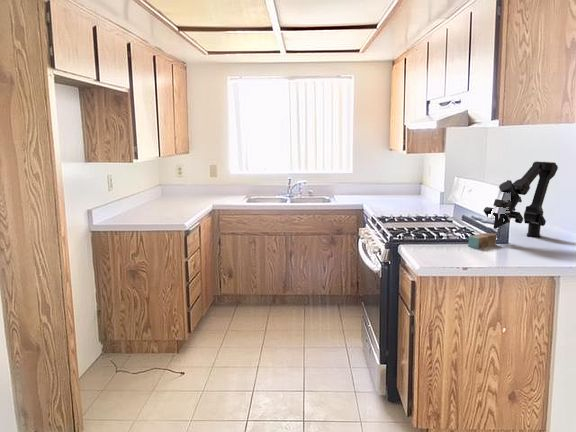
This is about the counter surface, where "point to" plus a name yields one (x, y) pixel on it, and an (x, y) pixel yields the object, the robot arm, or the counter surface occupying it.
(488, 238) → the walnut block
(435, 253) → the counter surface
